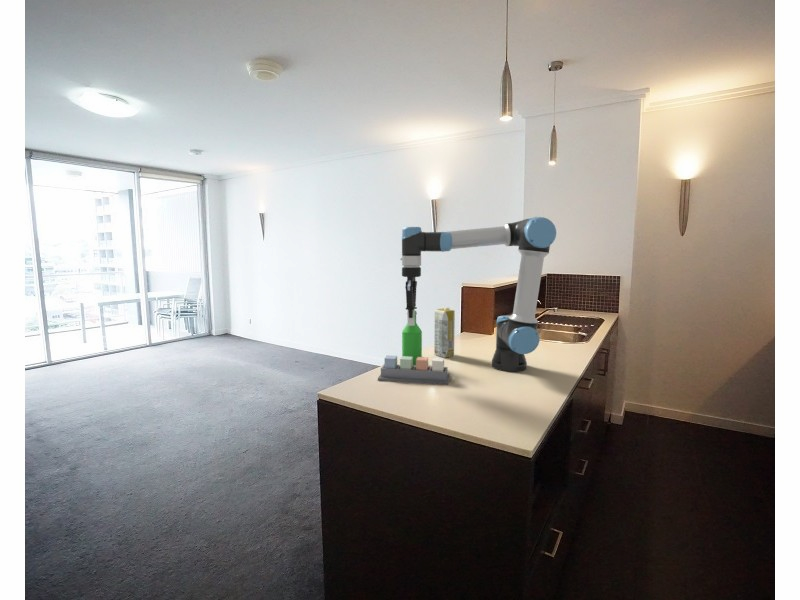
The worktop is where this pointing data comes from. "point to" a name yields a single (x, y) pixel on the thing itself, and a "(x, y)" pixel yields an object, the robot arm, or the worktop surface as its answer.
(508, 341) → the robot arm
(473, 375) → the worktop surface
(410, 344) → the bottle
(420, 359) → the key terracotta
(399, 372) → the keypad
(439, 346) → the juice carton
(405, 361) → the key sage
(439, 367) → the key cream
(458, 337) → the worktop surface
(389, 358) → the key slate
